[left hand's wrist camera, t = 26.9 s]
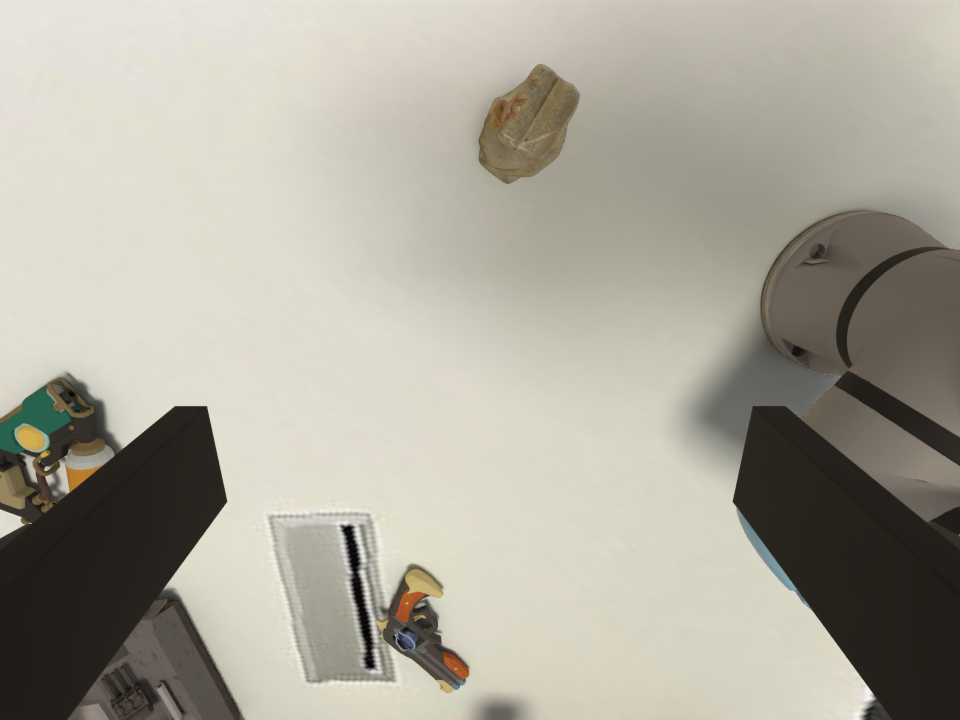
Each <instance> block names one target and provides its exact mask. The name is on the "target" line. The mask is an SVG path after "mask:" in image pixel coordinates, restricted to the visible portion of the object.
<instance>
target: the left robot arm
mask: <svg viewBox="0 0 960 720" xmlns="http://www.w3.org/2000/svg"><path fill="white" fill-rule="evenodd" d="M761 313H762V320H763V325H764V328H765V331H766V333H767V335H768V337H769V339H770V340H771V342H772V343H773V345H774V346H775V347H776V348H777V349H778V350H779V351H780V352H781V353H782V354H784V355H785V356H787V357H788V358H790V359H791V360H793V361H794V362H796V363H797V364H799V365H801V366H803V367H806V368H808V369H811V370H815V371H819V372H824V373H831V374H839V375H843V376H842V377H841V378H840V379H839V380H838V381H837V382H836V384H834V385H833V386H832V387H831V388H830V389H829V390H828V391H827V393H826V394H825V395H824V396H823V397H822V398H821V399H820V400H819V401H818V402H817V403H816V404H815V405H814V406H813V407H812V409H811V410H810V411H809V412H808V413H807V414H806V415H805V416H804V417H803V418H802V419H800V418H799V417H797V416H796V415H795V414H794V413H793V412H791V411H790V410H789V409H788V408H786V407H785V406H753V409H752V413H751V418H750V423H749V428H748V432H747V437H746V442H745V446H744V451H743V456H742V460H741V465H740V470H739V474H738V479H737V484H736V488H735V493H734V498H733V503H734V504H735V505H736V507H737V514H738V517H739V520H740V523H741V525H742V528H743V530H744V532H745V534H746V535H747V537H748V539H749V541H750V542H751V544H752V545H753V547H754V548H755V550H756V551H757V553H758V554H759V556H760V557H761V558H762V560H763V561H764V562H765V563H766V565H767V566H768V567H769V568H770V570H771V571H772V572H773V573H774V574H775V575H776V577H777V578H778V579H779V580H780V581H781V582H782V583H783V584H784V585H785V586H786V587H787V588H788V589H789V590H793V591H795V592H796V594H797V595H798V596H799V598H800V599H801V601H802V602H803V603H804V604H805V605H806V606H807V607H809V608H810V609H811V610H812V611H813V612H814V613H815V615H816V616H817V617H818V619H819V620H820V622H821V623H822V624H823V626H824V627H825V628H826V630H827V631H828V632H829V634H830V635H831V637H832V638H833V639H834V641H835V642H836V643H837V645H838V646H839V647H840V649H841V650H842V652H843V653H844V654H845V656H846V657H847V658H848V660H849V661H850V662H851V664H852V665H853V667H854V668H855V669H856V671H857V672H858V673H859V675H860V676H861V677H862V679H863V680H864V682H865V683H866V684H867V686H868V687H869V688H870V690H871V691H872V693H873V694H874V695H875V697H876V698H877V699H878V701H879V702H880V703H881V705H882V706H883V708H884V709H885V710H886V712H887V713H888V714H889V716H890V717H891V718H892V720H960V251H959V250H953V249H948V248H947V247H945V246H944V245H943V244H941V243H940V242H939V241H937V240H936V239H934V238H933V237H932V236H930V235H929V234H928V233H926V232H925V231H923V230H922V229H921V228H920V227H918V226H917V225H915V224H913V223H912V222H910V221H908V220H906V219H904V218H901V217H898V216H895V215H890V214H885V213H878V212H869V211H857V212H849V213H844V214H840V215H837V216H833V217H831V218H828V219H826V220H824V221H821V222H819V223H817V224H816V225H814V226H812V227H811V228H809V229H808V230H806V231H805V232H803V233H802V234H801V235H800V236H798V237H797V238H796V239H795V240H794V241H793V242H792V243H791V244H790V245H789V246H788V247H787V248H786V249H785V250H784V251H783V253H782V254H781V255H780V257H779V258H778V259H777V261H776V263H775V264H774V266H773V267H772V269H771V271H770V273H769V276H768V278H767V281H766V283H765V287H764V290H763V295H762V304H761ZM841 389H842V390H841ZM844 391H845V392H844ZM846 392H847V393H846ZM849 394H850V395H849ZM852 396H853V397H852ZM854 397H855V398H856V399H855V398H854ZM857 399H858V400H859V401H858V400H857ZM860 401H861V402H860ZM863 403H864V404H863ZM866 405H867V406H866ZM868 406H869V407H870V408H869V407H868ZM871 408H872V409H873V410H872V409H871ZM874 410H875V411H876V412H875V411H874ZM877 412H878V413H877ZM880 414H881V415H880ZM883 416H884V417H883ZM886 418H887V419H886ZM888 419H889V420H890V421H889V420H888ZM891 421H892V422H891ZM894 423H895V424H894ZM896 424H897V425H898V426H897V425H896ZM899 426H900V427H901V428H900V427H899ZM902 428H903V429H904V430H903V429H902ZM905 430H906V431H907V432H906V431H905ZM908 432H909V433H908ZM911 434H912V435H911ZM914 436H915V437H914ZM917 438H918V439H917ZM919 439H920V440H921V441H920V440H919ZM922 441H923V442H924V443H923V442H922ZM925 443H926V444H925ZM928 445H929V446H928ZM931 447H932V448H931ZM934 449H935V450H934ZM937 451H938V452H937ZM954 462H955V463H954ZM226 503H227V498H226V493H225V488H224V484H223V479H222V474H221V470H220V465H219V460H218V456H217V451H216V446H215V442H214V437H213V432H212V428H211V423H210V418H209V413H208V409H207V406H175V407H174V408H172V409H171V410H170V411H169V412H167V413H166V414H165V415H164V416H163V417H161V418H160V419H159V420H158V421H156V422H155V423H154V424H153V425H152V426H150V427H149V428H148V429H147V430H145V431H144V432H143V433H142V434H141V435H139V436H138V437H137V438H136V439H134V440H133V441H132V442H131V443H130V444H128V445H127V446H126V447H125V448H123V449H122V450H121V451H120V452H119V453H117V454H116V455H115V456H114V457H112V458H111V459H110V460H109V461H108V462H106V463H105V464H104V465H103V466H101V467H100V468H99V469H98V470H97V471H95V472H94V473H93V474H92V475H90V476H89V477H88V478H87V479H86V480H84V481H83V482H82V483H81V484H79V485H78V486H77V487H76V488H75V489H73V490H72V491H71V492H70V493H68V494H67V495H66V496H65V497H64V498H62V499H61V500H60V501H59V502H57V503H56V504H55V505H54V506H53V507H51V508H50V509H49V510H48V511H46V512H45V513H44V514H43V515H42V516H40V517H39V518H38V519H37V520H36V521H34V522H33V523H32V524H26V525H24V526H22V527H20V528H19V529H17V530H15V531H13V532H11V533H9V534H7V535H6V536H4V537H2V538H0V720H68V718H69V717H70V716H71V714H72V713H73V712H74V710H75V709H76V708H77V706H78V705H79V703H80V702H81V701H82V699H83V698H84V697H85V695H86V694H87V693H88V691H89V690H90V688H91V687H92V686H93V684H94V683H95V682H96V680H97V679H98V677H99V676H100V675H101V673H102V672H103V671H104V669H105V668H106V667H107V665H108V664H109V662H110V661H111V660H112V658H113V657H114V656H115V654H116V653H117V652H118V650H119V649H120V647H121V646H122V645H123V643H124V642H125V641H126V639H127V638H128V637H129V635H130V634H131V632H132V631H133V630H134V628H135V627H136V626H137V624H138V623H139V622H140V620H141V619H142V617H143V616H144V615H145V613H146V612H147V611H148V609H149V608H150V607H151V605H152V604H153V602H154V601H155V600H156V598H157V597H158V596H159V594H160V593H161V591H162V590H163V589H164V587H165V586H166V585H167V583H168V582H169V581H170V579H171V578H172V576H173V575H174V574H175V572H176V571H177V570H178V568H179V567H180V566H181V564H182V563H183V561H184V560H185V559H186V557H187V556H188V555H189V553H190V552H191V551H192V549H193V548H194V546H195V545H196V544H197V542H198V541H199V540H200V538H201V537H202V536H203V534H204V533H205V531H206V530H207V529H208V527H209V526H210V525H211V523H212V522H213V520H214V519H215V518H216V516H217V515H218V514H219V512H220V511H221V510H222V508H223V507H224V505H225V504H226Z"/></svg>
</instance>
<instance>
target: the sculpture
mask: <svg viewBox="0 0 960 720" xmlns="http://www.w3.org/2000/svg"><path fill="white" fill-rule="evenodd" d="M579 98H580V95H579V92H578V91H577V89H576V88H575V87H574V86H573V85H572V84H570V83H568V82H566V81H564V80H563V79H561V78H560V77H559V76H558V75H557V74H556V73H555V72H553V71H552V70H551V69H550V68H548V67H547V66H545V65H542V64H538V65H537V66H536V67H535V68H534V69H533V70H532V72H531V73H530V75H529V76H528V78H527V79H526V80H525V81H524V82H523V83H522V84H520V85H519V86H518V87H516V88H515V89H514V90H512V91H511V92H509V93H508V94H506V95H504V96H502V97H498V98H496V99H494V101H493V103H492V106H491V109H490V111H489V114H488V116H487V118H486V120H485V123H484V127H483V130H482V133H481V136H480V138H479V145H480V153H479V162H480V163H481V165H483V166H484V167H485V168H486V169H487V170H488V171H489V172H491V173H492V174H493V175H495V176H496V177H497V178H499V179H500V180H502V181H503V182H505V183H507V184H510V183H512V182H514V181H515V180H517V179H518V178H520V177H531V176H534V175H535V174H537V173H538V172H539V171H541V170H542V169H543V168H544V167H546V166H547V165H548V164H550V163H551V162H552V161H553V160H554V159H555V158H557V156H558V155H559V153H560V151H561V149H562V146H563V144H564V141H565V136H566V130H567V124H568V122H569V120H570V119H571V117H572V115H573V114H574V112H575V110H576V108H577V105H578V102H579Z"/></svg>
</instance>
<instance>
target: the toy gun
mask: <svg viewBox="0 0 960 720" xmlns="http://www.w3.org/2000/svg"><path fill="white" fill-rule="evenodd" d="M442 595H443V591H442V589H441V588H440V587H439V586H438V584H437V583H436V582H435V581H434V580H433V579H432V578H431V577H429V576H428V575H427V574H426V573H424V572H422V571H420V570H418V569H414V570H410V571H409V572H408V573H407V574H406V575H405V579H404V581H403V582H402V584H401V586H400V587H399V590H398V592H397V594H396V597H395V600H394V602H393V603H392V604H391V605H390V609H389V618H388V619H385V620H383V621H381V620H379V619H377V618H376V623H377V625H378V626H379V628H380V630H381V629H382V628H384V631H383V634H381V635H380V637H381V638H383V639H384V640H385V641H386V642H387V643H388V644H390V645H391V646H392V647H393V648H395V649H396V650H397V651H398V652H400V653H401V654H403V655H405V656H407V657H409V658H411V659H412V660H414V661H415V662H416V663H417V664H419V665H420V666H421V667H422V668H423V669H424V670H425V671H427V672H428V673H429V674H430V675H431V676H432V677H433V678H434V679H435V680H436V681H437V682H438V683H440V686H442V687H441V688H440V689H441V690H442V691H444V692H446V693H450V692H452V691H453V690H454V689H455V690H458V689H459V688H460V685H464V684H465V682H466V678H467V677H468V676H469V669H468V668H467V667H466V666H465V665H464V664H463V663H462V662H461V661H459V660H458V659H457V658H456V657H455V656H454V655H452V654H449V653H446V652H442V651H441V650H440V649H438V648H437V647H436V646H435V645H434V644H441V636H440V635H437V634H435V633H433V632H434V631H436V629H437V628H438V621H437V619H435V618H434V617H433V616H432V614H431V613H430V611H429V609H428V607H427V606H426V605H424V606H422V607H420V608H417V609H414V607H415V606H416V604H417V603H418V602H419V601H420V600H422V599H423V598H426V597H428V596H434V597H437V598H440V597H441V596H442ZM422 613H424V614H422ZM425 616H426V618H427V620H428V621H429V622H430V624H428V625H423V624H422V623H420V622H419V621H418V620H417V619H419V618H424V619H425ZM406 626H407V627H408V628H405V627H406ZM394 634H396V635H397V636H396V637H395V635H394ZM397 637H398V639H399V640H398V639H397Z"/></svg>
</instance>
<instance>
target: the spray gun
mask: <svg viewBox="0 0 960 720" xmlns="http://www.w3.org/2000/svg"><path fill="white" fill-rule="evenodd" d="M55 382H60V383H61V384H63V385H64V387H65V388H66V389H67V390H63V389H62V388H61V387H60V386H59V385H56V384H53V383H55ZM77 401H78V402H79V403H80V404H75V403H76V402H77ZM80 405H81V406H82V407H83V408H84V409H88V410H81V411H80V407H81V406H80ZM74 439H76V440H78V441H77V442H75V443H74V444H73V445H72V447H71V450H72V451H71V452H70V453H69V454H68V448H69V442H71V441H72V440H74ZM22 451H23V452H25V453H27V454H29V455H31V456H34V457H36V458H35V459H34V461H33V467H34V469H35V470H36V477H37V481H38V484H39V486H40V488H41V490H42V492H41V493H39V494H38V493H37V492H36V490H35V489H34V488H31V487H28V486H26V484H25V481H24V478H23V475H22V472H21V469H20V467H19V466H25V465H26V462H24V461H22V460H21V458H20V453H21V452H22ZM67 454H68V455H67ZM66 455H67V459H66V464H65V465H66V471H67V477H68V483H69V490H70V492H71V491H72V490H73V489H75V488H76V487H77V486H78V485H79V484H81V483H82V482H83V481H84V480H86V479H87V478H88V477H89V476H90V475H92V474H93V473H94V472H95V471H97V470H98V469H99V468H100V467H101V466H103V465H104V464H105V463H106V462H108V461H109V460H110V459H111V458H112V457H114V456H115V455H114V452H113V450H112V449H111V448H110V447H109V446H107V445H105V441H104V440H103V439H100V438H96V428H95V416H94V407H93V406H88V405H87V404H86V403H85V402H84V401H83V400H82V399H81V398H80V396H79V395H78V394H77V393H76V392H75V391H74V390H73V388H72V387H71V386H70V385H69V384H68V383H67V382H66V381H65V380H64V379H61V378H58V379H55V380H53V381H51V382H49V383H48V384H47V385H45V386H44V387H42V388H40V389H39V390H37V391H36V392H34V393H33V394H31V395H30V396H28V397H27V398H25V399H24V401H23V403H22V405H21V406H19V407H17V408H16V409H14V410H13V411H11V412H10V413H8V414H7V415H5V416H4V417H2V418H1V419H0V509H1V510H4V511H6V512H9V513H12V514H15V515H18V516H20V517H22V518H21V522H22V523H23V524H29V523H33V522H34V521H36V520H37V519H38V518H39V517H40V516H42V515H43V514H44V513H45V512H46V511H48V510H49V509H50V508H51V507H53V506H54V505H55V504H56V503H57V502H56V501H49V500H48V497H49V495H50V488H49V486H48V484H47V482H46V479H45V476H48V475H50V474H52V473H54V472H55V471H56V470H57V469H58V468H59V467H60V463H59V461H58V460H59V459H61V458H63V457H64V456H66ZM39 461H41V462H40V463H39ZM53 463H54V467H53V468H51V469H50V470H48V471H44V468H45V467H46V466H50V465H51V464H53Z"/></svg>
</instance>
